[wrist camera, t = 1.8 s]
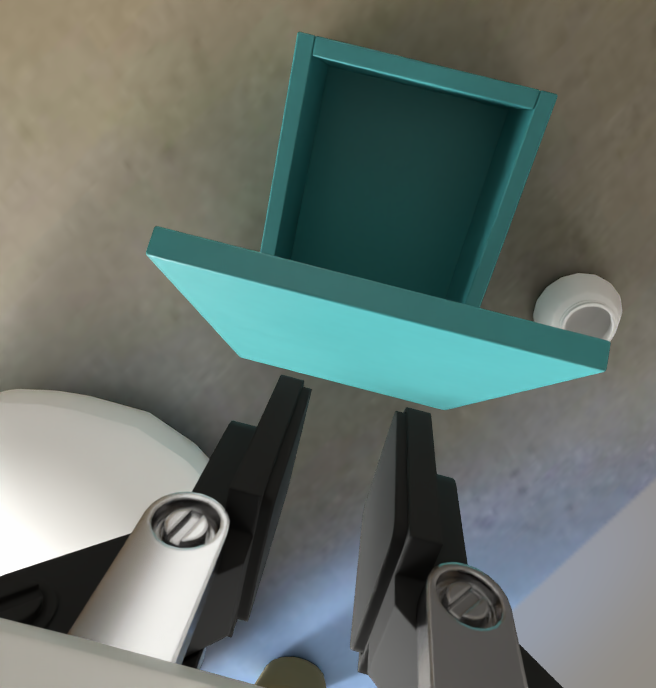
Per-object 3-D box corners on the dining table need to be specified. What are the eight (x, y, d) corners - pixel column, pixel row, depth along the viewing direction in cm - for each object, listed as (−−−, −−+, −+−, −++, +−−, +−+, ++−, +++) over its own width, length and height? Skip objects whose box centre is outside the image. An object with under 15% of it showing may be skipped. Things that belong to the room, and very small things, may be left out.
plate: (9, 685, 49) (-174, 447, 40) (57, 623, 55) (-95, 402, 46) (281, 690, 40) (121, 381, 31) (304, 614, 45) (175, 336, 36)
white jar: (582, 359, 35) (634, 295, 33) (597, 380, 32) (655, 312, 30) (516, 324, 34) (564, 257, 32) (526, 342, 32) (579, 270, 30)
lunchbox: (319, 47, 29) (297, 31, 23) (525, 97, 29) (558, 94, 23) (271, 306, 36) (243, 346, 30) (438, 348, 36) (446, 399, 29)
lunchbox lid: (154, 224, 13) (144, 254, 13) (612, 340, 13) (607, 372, 13) (243, 343, 29) (239, 357, 29) (448, 396, 29) (445, 410, 29)
